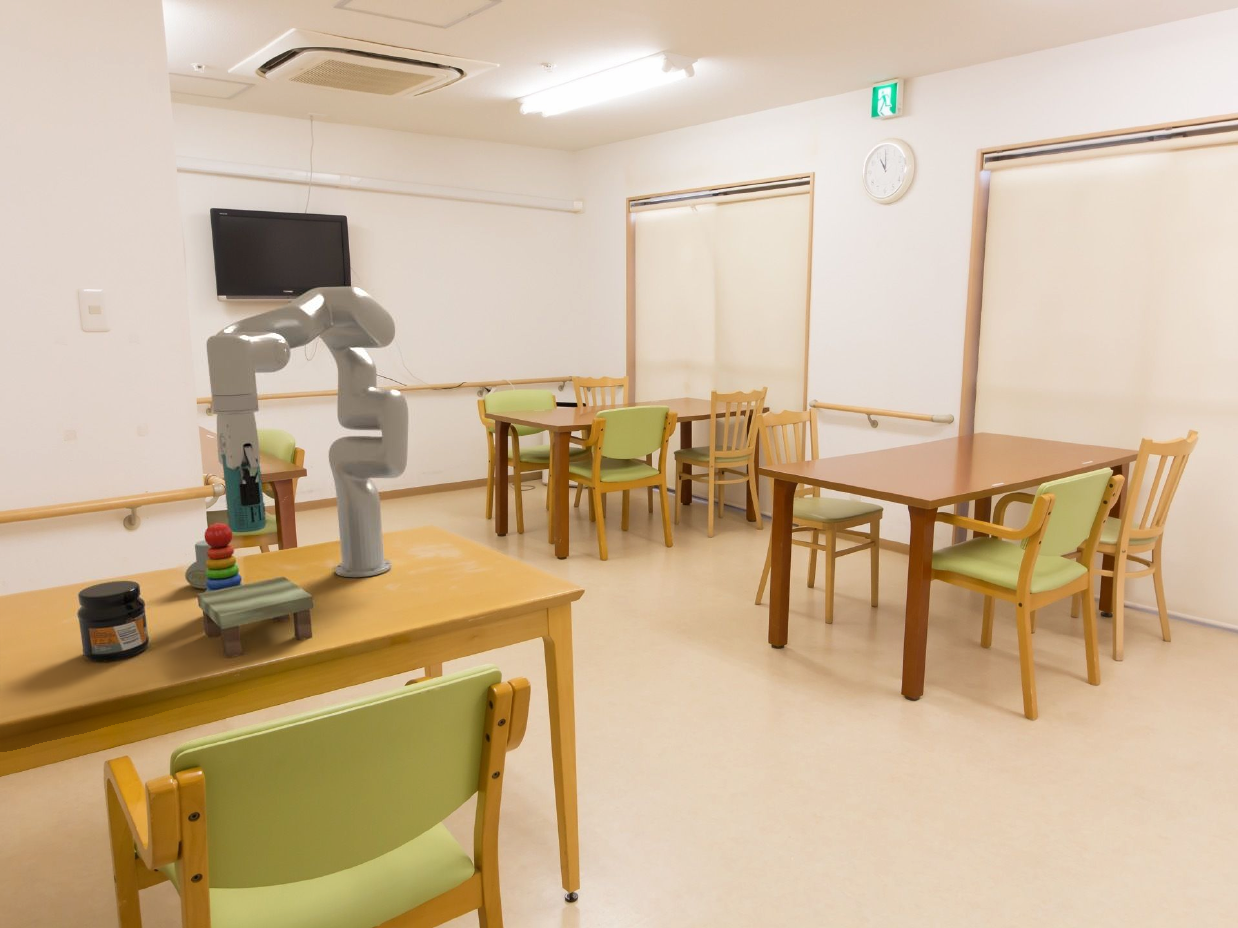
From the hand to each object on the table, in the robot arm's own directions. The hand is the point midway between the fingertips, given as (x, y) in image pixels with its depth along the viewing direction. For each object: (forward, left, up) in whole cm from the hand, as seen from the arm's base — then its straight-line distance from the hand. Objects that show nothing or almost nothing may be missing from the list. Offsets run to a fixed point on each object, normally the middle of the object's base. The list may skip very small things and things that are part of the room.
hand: (245, 500), depth 159 cm
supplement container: (-9, -22, -26) cm, 35 cm away
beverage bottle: (0, 0, -7) cm, 7 cm away
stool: (0, 0, -26) cm, 26 cm away
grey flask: (-39, +2, -26) cm, 47 cm away
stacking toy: (-17, -1, -26) cm, 31 cm away
